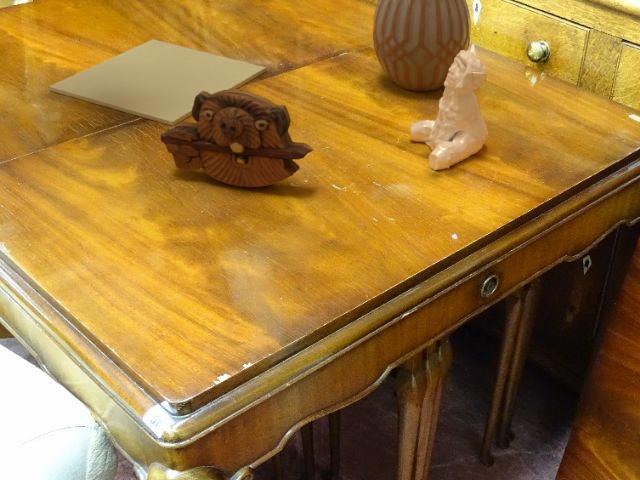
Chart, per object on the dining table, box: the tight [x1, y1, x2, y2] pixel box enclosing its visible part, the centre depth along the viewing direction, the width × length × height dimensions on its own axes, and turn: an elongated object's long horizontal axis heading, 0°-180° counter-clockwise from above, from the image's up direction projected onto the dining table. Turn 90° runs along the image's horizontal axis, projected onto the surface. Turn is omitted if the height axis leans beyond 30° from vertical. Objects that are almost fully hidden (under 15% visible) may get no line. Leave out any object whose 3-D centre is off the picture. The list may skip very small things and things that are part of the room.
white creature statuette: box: [409, 49, 490, 171], centre depth 89 cm, size 10×9×12 cm
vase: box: [372, 0, 472, 92], centre depth 102 cm, size 13×13×18 cm
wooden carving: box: [160, 88, 314, 188], centre depth 82 cm, size 16×5×10 cm, turn 82°
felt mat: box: [48, 39, 268, 127], centre depth 104 cm, size 20×20×1 cm
